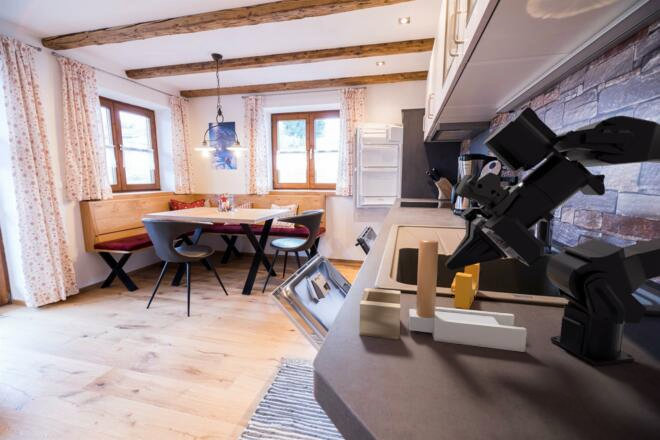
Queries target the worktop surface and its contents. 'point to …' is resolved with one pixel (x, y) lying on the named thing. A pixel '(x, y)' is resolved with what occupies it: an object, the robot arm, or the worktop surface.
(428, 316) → the slide bolt
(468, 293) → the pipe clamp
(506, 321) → the sleeve
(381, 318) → the socket
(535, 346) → the worktop surface
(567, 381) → the worktop surface
